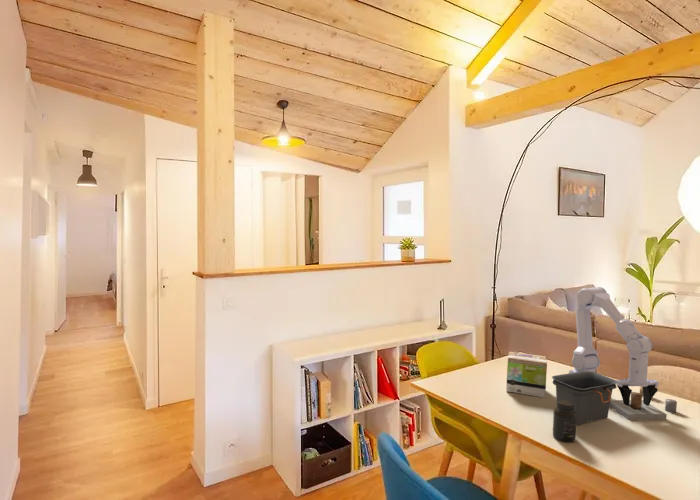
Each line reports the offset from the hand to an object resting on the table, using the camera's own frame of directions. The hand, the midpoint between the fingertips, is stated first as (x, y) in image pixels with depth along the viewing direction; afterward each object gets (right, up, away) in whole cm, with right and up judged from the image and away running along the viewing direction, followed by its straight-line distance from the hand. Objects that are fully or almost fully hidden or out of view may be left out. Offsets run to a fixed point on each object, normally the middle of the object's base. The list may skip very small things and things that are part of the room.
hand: (636, 404), depth 159 cm
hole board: (0, -3, 0) cm, 3 cm away
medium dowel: (+14, -2, +15) cm, 21 cm away
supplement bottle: (-37, -4, -19) cm, 42 cm away
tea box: (-33, -2, +20) cm, 39 cm away
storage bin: (-22, -3, -5) cm, 23 cm away
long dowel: (0, -3, 0) cm, 3 cm away
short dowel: (+14, -3, +1) cm, 14 cm away
